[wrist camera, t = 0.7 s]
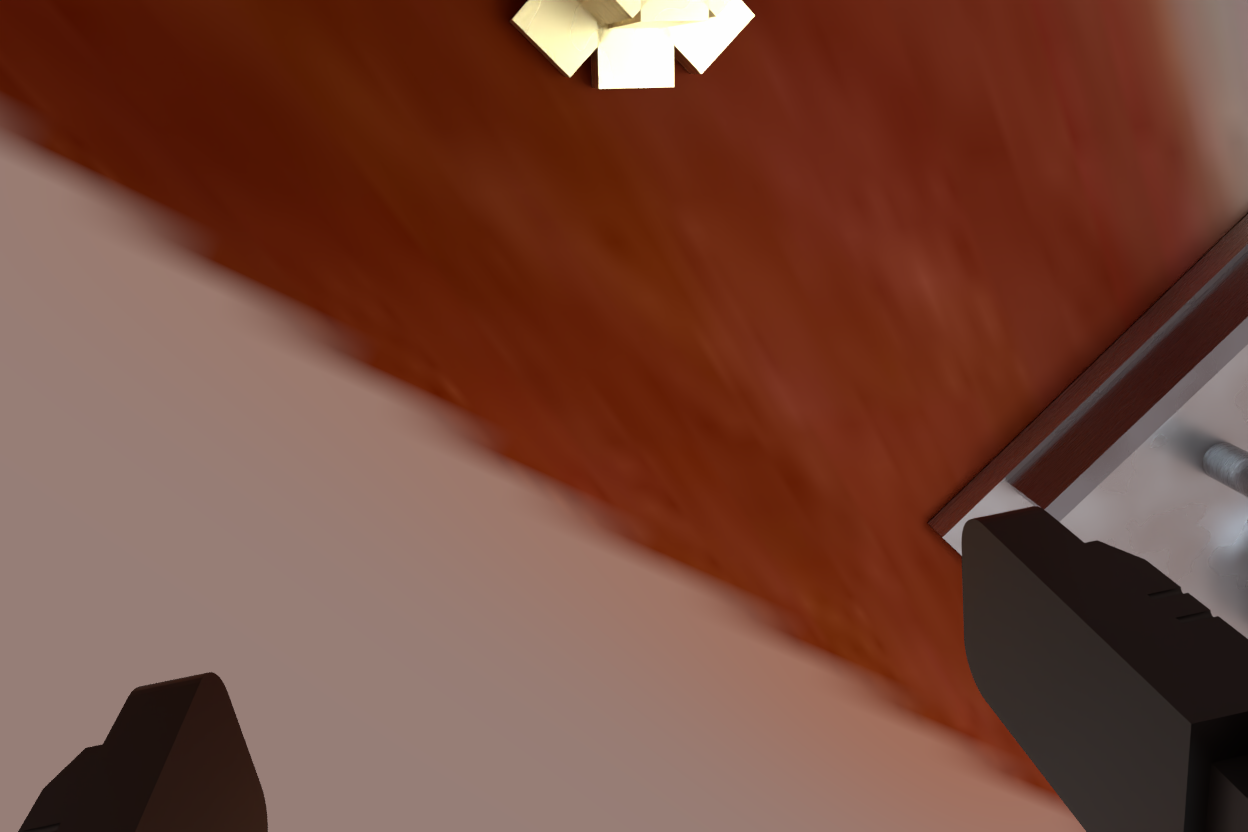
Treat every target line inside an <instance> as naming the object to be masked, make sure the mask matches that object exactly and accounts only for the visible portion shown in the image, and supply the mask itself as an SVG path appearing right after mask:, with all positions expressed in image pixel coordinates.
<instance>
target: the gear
mask: <svg viewBox="0 0 1248 832" xmlns="http://www.w3.org/2000/svg"><path fill="white" fill-rule="evenodd" d="M754 16H755V15H754V14H753V13H752V11H751V10H750V9H749V8H748V7H747V6H746V5H745V4H744V2H743V1H742V0H527V2H526V3H525V4H524V5H523V6H522V7H521V8H520V10H519V11H518V12H517V13H516V14H515V15H514V17H513V18H512V19H511V20H510V21H509V22H510V23H511V24H512V25H513V26H514V27H515V28H516V29H517V30H518V31H519V32H520V33H521V34H522V35H523V36H524V37H525V38H526V39H527V40H528V41H529V42H530V43H531V44H532V45H533V46H534V47H535V48H536V49H537V50H538V51H539V52H540V53H541V54H542V55H543V56H544V57H545V58H546V59H547V60H548V61H549V62H550V63H551V64H552V65H553V66H554V67H555V68H556V69H557V70H559V71H560V72H561V73H562V74H563V75H564V76H565V77H571V76H572V75H573V74H574V73H575V71H576V70H577V69H578V68H579V67H580V66H581V65H582V64H583V62H584V61H585V60H586V59H587V58H588V57H589V56H590V54H591V78H592V88H597V89H616V88H654V87H674V58H675V59H676V60H677V61H678V62H679V63H680V64H681V65H682V66H683V67H684V68H685V69H686V70H687V71H688V72H689V73H690V74H702V73H703V72H704V71H705V70H706V69H707V68H708V67H709V65H710V64H711V63H712V62H713V61H714V60H715V59H716V58H717V57H718V56H719V54H720V53H721V52H722V51H723V50H724V49H725V48H726V47H727V46H728V45H729V43H730V42H731V41H732V40H733V39H734V38H735V37H736V36H737V35H738V34H739V32H740V31H741V30H742V29H743V28H744V27H745V26H746V25H747V24H748V22H749V21H750V20H751V19H752V18H753V17H754Z"/></svg>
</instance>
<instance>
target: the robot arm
mask: <svg viewBox="0 0 1248 832" xmlns="http://www.w3.org/2000/svg"><path fill="white" fill-rule="evenodd" d="M961 545H962V579H963V613H964V641H965V650H966V655H967V659H968V663H969V667H970V670H971V673H972V676H973V678H974V680H975V683H976V685H977V687H978V689H979V691H980V693H981V694H982V696H983V697H984V699H985V700H986V702H987V703H988V704H989V706H990V707H991V708H992V710H993V711H994V712H995V713H996V715H997V716H998V717H999V719H1000V720H1001V721H1002V723H1003V724H1004V725H1005V726H1006V728H1007V729H1008V730H1009V732H1010V733H1011V734H1012V736H1013V737H1014V738H1015V739H1016V741H1017V742H1018V743H1019V745H1020V746H1021V747H1022V748H1023V750H1024V751H1025V752H1026V754H1027V755H1028V756H1029V758H1030V759H1031V760H1032V761H1033V763H1034V764H1035V765H1036V767H1037V768H1038V769H1039V771H1040V772H1041V773H1042V774H1043V776H1044V777H1045V778H1046V780H1047V781H1048V782H1049V784H1050V785H1051V786H1052V787H1053V789H1054V790H1055V791H1056V793H1057V794H1058V795H1059V797H1060V798H1061V799H1062V800H1063V802H1064V803H1065V804H1066V806H1067V807H1068V808H1069V810H1070V811H1071V812H1072V813H1073V815H1074V816H1075V817H1076V819H1077V820H1078V821H1079V823H1080V824H1081V825H1082V826H1083V828H1084V829H1085V830H1086V832H1248V639H1247V638H1246V637H1245V636H1243V635H1242V634H1241V633H1240V632H1238V631H1237V630H1236V629H1234V628H1233V627H1232V626H1230V625H1229V624H1228V623H1227V622H1225V621H1224V620H1223V619H1221V618H1220V617H1219V616H1216V617H1213V616H1212V614H1211V610H1210V609H1209V608H1207V607H1206V606H1205V605H1203V604H1202V603H1201V602H1200V601H1198V600H1197V599H1196V598H1194V597H1193V596H1192V595H1191V594H1189V593H1184V594H1183V592H1182V590H1181V587H1180V586H1179V585H1178V584H1176V583H1175V582H1174V581H1172V580H1171V579H1170V578H1169V577H1167V576H1166V575H1165V574H1163V573H1162V572H1161V571H1160V570H1158V569H1157V568H1156V567H1154V566H1153V565H1152V564H1151V563H1149V562H1148V561H1147V560H1145V559H1143V558H1140V557H1138V556H1135V555H1133V554H1130V553H1128V552H1125V551H1123V550H1120V549H1118V548H1115V547H1113V546H1110V545H1108V544H1105V543H1103V542H1100V541H1098V540H1096V541H1091V542H1086V543H1084V542H1083V541H1082V540H1081V539H1079V538H1078V537H1077V536H1076V535H1075V534H1073V533H1072V532H1071V531H1070V530H1068V529H1067V528H1066V527H1065V526H1064V525H1062V524H1061V523H1060V522H1059V521H1058V520H1056V519H1055V518H1054V517H1053V516H1052V515H1050V514H1049V513H1048V512H1047V511H1045V510H1044V509H1042V508H1040V507H1038V506H1032V507H1027V508H1022V509H1017V510H1012V511H1008V512H1003V513H998V514H993V515H988V516H983V517H978V518H973V519H970V520H968V521H967V522H966V523H965V525H964V527H963V531H962V542H961ZM18 832H268V823H267V811H266V804H265V798H264V794H263V790H262V787H261V784H260V781H259V778H258V776H257V773H256V770H255V767H254V764H253V762H252V759H251V756H250V754H249V751H248V748H247V745H246V742H245V739H244V737H243V734H242V731H241V728H240V725H239V723H238V720H237V718H236V714H235V712H234V709H233V706H232V703H231V700H230V698H229V695H228V692H227V690H226V687H225V685H224V683H223V682H222V680H221V679H220V677H219V676H217V675H216V674H215V673H212V672H211V673H210V672H209V673H204V674H199V675H194V676H189V677H185V678H180V679H175V680H170V681H165V682H160V683H155V684H150V685H145V686H140V687H138V688H136V689H134V690H133V691H132V692H131V694H130V695H129V697H128V699H127V700H126V702H125V704H124V706H123V708H122V710H121V712H120V713H119V716H118V717H117V719H116V721H115V723H114V725H113V726H112V729H111V730H110V732H109V734H108V736H107V738H106V740H105V741H104V743H103V745H98V746H93V747H88V748H85V749H84V750H83V751H82V752H81V753H80V754H79V755H78V756H77V757H76V758H75V759H74V760H73V761H72V762H71V763H70V764H69V765H68V766H67V767H65V768H64V769H63V770H62V771H61V772H60V773H59V774H58V775H57V776H56V777H55V778H54V779H53V780H52V781H51V782H50V783H49V784H48V785H47V786H46V787H45V788H44V789H43V790H42V792H41V794H40V795H39V797H38V799H37V800H36V802H35V804H34V805H33V807H32V809H31V811H30V812H29V814H28V816H27V817H26V819H25V821H24V823H23V824H22V826H21V828H20V829H19V831H18Z"/></svg>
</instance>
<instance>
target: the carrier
mask: <svg viewBox="0 0 1248 832" xmlns="http://www.w3.org/2000/svg"><path fill="white" fill-rule="evenodd" d="M1032 506H1038V507H1040V508H1042V509H1044V510H1045V511H1047V512H1048V513H1049V514H1050V515H1052V516H1053V517H1054V518H1055V519H1056V520H1058V521H1059V522H1060V523H1061V524H1062V525H1064V526H1065V527H1066V528H1067V529H1068V530H1070V531H1071V532H1072V533H1073V534H1075V535H1076V536H1077V537H1078V538H1079V539H1081V540H1082V541H1083V542H1084V543H1086V542H1091V541H1096V540H1098V541H1100V542H1103V543H1105V544H1108V545H1110V546H1113V547H1115V548H1118V549H1120V550H1123V551H1125V552H1128V553H1130V554H1133V555H1135V556H1138V557H1140V558H1143V559H1145V560H1147V561H1148V562H1149V563H1151V564H1152V565H1153V566H1154V567H1156V568H1157V569H1158V570H1160V571H1161V572H1162V573H1163V574H1165V575H1166V576H1167V577H1169V578H1170V579H1171V580H1172V581H1174V582H1175V583H1176V584H1178V585H1179V586H1180V587H1181V590H1182V592H1183V594H1184V593H1189V594H1191V595H1192V596H1193V597H1194V598H1196V599H1197V600H1198V601H1200V602H1201V603H1202V604H1203V605H1205V606H1206V607H1207V608H1209V609H1210V610H1211V614H1212V616H1213V617H1216V616H1219V617H1220V618H1221V619H1223V620H1224V621H1225V622H1227V623H1228V624H1229V625H1230V626H1232V627H1233V628H1234V629H1236V630H1237V631H1238V632H1240V633H1241V634H1242V635H1243V636H1245V637H1246V638H1247V639H1248V214H1247V215H1246V216H1245V217H1244V218H1243V219H1242V220H1241V221H1240V222H1239V223H1238V224H1237V225H1236V226H1235V227H1233V228H1232V229H1231V230H1230V231H1229V232H1228V233H1227V234H1226V235H1225V236H1224V237H1223V238H1222V239H1221V240H1220V241H1219V242H1218V243H1217V244H1216V245H1215V246H1214V247H1213V248H1212V249H1211V250H1210V251H1209V252H1208V253H1207V254H1206V255H1205V256H1204V257H1202V258H1201V259H1200V260H1199V261H1198V262H1197V263H1196V264H1195V265H1194V266H1193V267H1192V268H1191V269H1190V270H1189V271H1188V272H1187V273H1186V274H1185V275H1184V276H1183V277H1182V278H1181V279H1180V280H1179V281H1178V282H1177V283H1176V284H1175V285H1174V286H1172V287H1171V288H1170V289H1169V290H1168V291H1167V292H1166V293H1165V294H1164V295H1163V296H1162V297H1161V298H1160V299H1159V300H1158V301H1157V302H1156V303H1155V304H1154V305H1153V306H1152V307H1151V308H1150V309H1149V310H1148V311H1147V312H1146V313H1145V314H1144V315H1143V316H1141V317H1140V318H1139V319H1138V320H1137V321H1136V322H1135V323H1134V324H1133V325H1132V326H1131V327H1130V328H1129V329H1128V330H1127V331H1126V332H1125V333H1124V334H1123V335H1122V336H1121V337H1120V338H1119V339H1118V340H1117V341H1116V342H1115V343H1114V344H1113V345H1111V346H1110V347H1109V348H1108V349H1107V350H1106V351H1105V352H1104V353H1103V354H1102V355H1101V356H1100V357H1099V358H1098V359H1097V360H1096V361H1095V362H1094V363H1093V364H1092V365H1091V366H1090V367H1089V368H1088V369H1087V370H1086V371H1085V372H1084V373H1083V374H1081V375H1080V376H1079V377H1078V378H1077V379H1076V380H1075V381H1074V382H1073V383H1072V384H1071V385H1070V386H1069V387H1068V388H1067V389H1066V390H1065V391H1064V392H1063V393H1062V394H1061V395H1060V396H1059V397H1058V398H1057V399H1056V400H1055V401H1054V402H1053V403H1052V404H1050V405H1049V406H1048V407H1047V408H1046V409H1045V410H1044V411H1043V412H1042V413H1041V414H1040V415H1039V416H1038V417H1037V418H1036V419H1035V420H1034V421H1033V422H1032V423H1031V424H1030V425H1029V426H1028V427H1027V428H1026V429H1025V430H1024V431H1023V432H1022V433H1020V434H1019V435H1018V436H1017V437H1016V438H1015V439H1014V440H1013V441H1012V442H1011V443H1010V444H1009V445H1008V446H1007V447H1006V448H1005V449H1004V450H1003V451H1002V452H1001V453H1000V454H999V455H998V456H997V457H996V458H995V459H994V460H993V461H992V462H990V463H989V464H988V465H987V466H986V467H985V468H984V469H983V470H982V471H981V472H980V473H979V474H978V475H977V476H976V477H975V478H974V479H973V480H972V481H971V482H970V483H969V484H968V485H967V486H966V487H965V488H964V489H963V490H962V491H961V492H959V493H958V494H957V495H956V496H955V497H954V498H953V499H952V500H951V501H950V502H949V503H948V504H947V505H946V506H945V507H944V508H943V509H942V510H941V511H940V512H939V513H938V514H937V515H936V516H935V517H934V518H933V519H932V520H931V521H929V522H928V524H929V525H930V526H931V527H932V528H933V529H934V530H935V531H936V532H937V533H938V534H939V535H940V536H941V537H942V538H943V539H944V540H946V541H947V542H948V543H949V544H950V545H951V546H952V547H953V548H954V549H955V550H956V551H957V552H958V553H959V554H960V555H961V556H962V545H961V542H962V531H963V527H964V525H965V523H966V522H967V521H968V520H970V519H973V518H978V517H983V516H988V515H993V514H998V513H1003V512H1008V511H1012V510H1017V509H1022V508H1027V507H1032Z"/></svg>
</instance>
